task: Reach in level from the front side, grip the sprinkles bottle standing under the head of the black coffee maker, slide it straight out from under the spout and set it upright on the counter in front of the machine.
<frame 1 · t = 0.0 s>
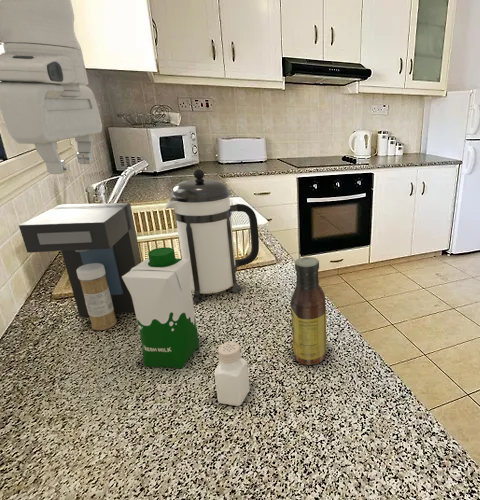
hand: (73, 168, 58), 34 cm above the countertop, tool pointing down, fingers open, 8 cm apart
salt shaker: (234, 398, 60), on the countertop
sauce bottle: (309, 357, 70), on the countertop
coffee press: (217, 288, 95), on the countertop
sprinkles bottle: (105, 326, 78), on the countertop
milk carton: (172, 356, 69), on the countertop
coffee maker: (104, 325, 78), on the countertop
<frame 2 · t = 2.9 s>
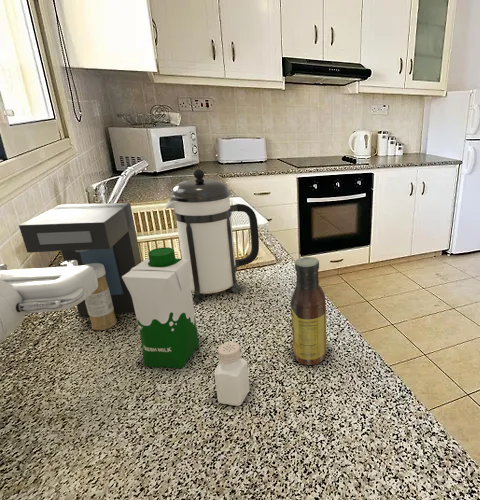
hand: (38, 266, 57), 20 cm above the countertop, tool horizontal, fingers open, 8 cm apart
nothing on the countertop moved.
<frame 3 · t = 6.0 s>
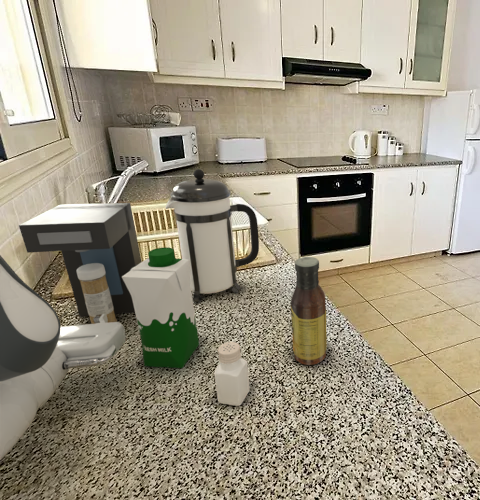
hand: (73, 319, 66), 7 cm above the countertop, tool horizontal, fingers open, 8 cm apart
nothing on the countertop moved.
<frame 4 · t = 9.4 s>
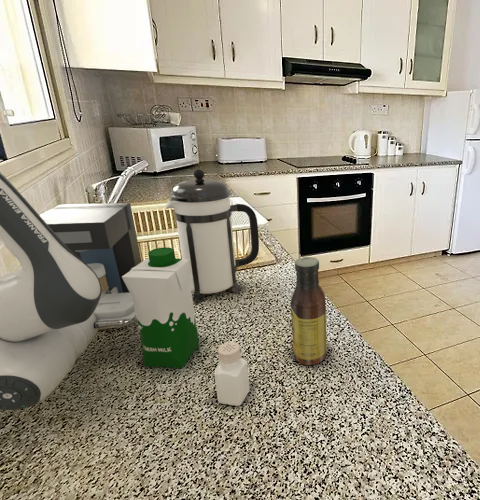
hand: (98, 291, 76), 8 cm above the countertop, tool horizontal, fingers closed on sprinkles bottle, 4 cm apart
sprinkles bottle: (105, 326, 78), on the countertop, touching gripper
everything else where it was.
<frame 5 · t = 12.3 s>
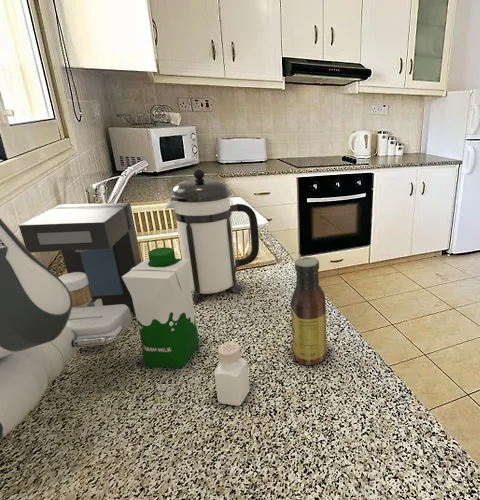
hand: (80, 303, 69), 9 cm above the countertop, tool horizontal, fingers closed on sprinkles bottle, 4 cm apart
sprinkles bottle: (88, 341, 71), point 1 cm above the countertop, touching gripper
everything else where it was.
when the fingers open (8 cm above the countertop, at t = 15.1 s): sprinkles bottle stays where it is, on the countertop.
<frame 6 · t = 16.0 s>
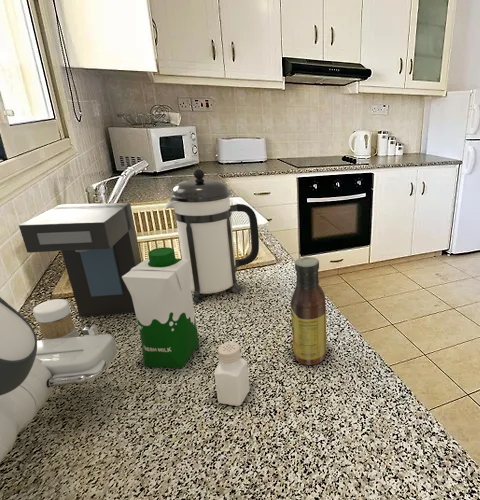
hand: (61, 331, 62), 8 cm above the countertop, tool horizontal, fingers open, 8 cm apart
sprinkles bottle: (71, 373, 64), on the countertop
everything else where it was.
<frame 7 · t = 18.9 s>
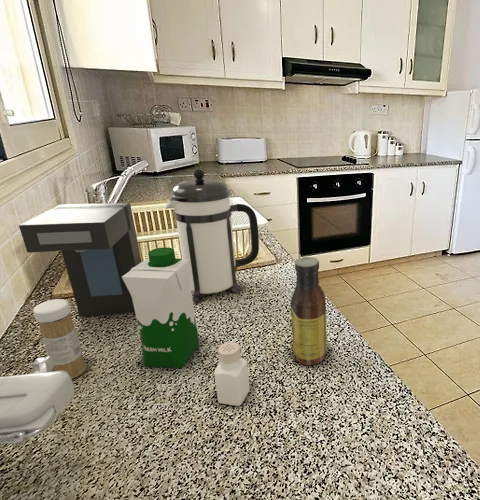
hand: (6, 364, 49), 11 cm above the countertop, tool horizontal, fingers open, 8 cm apart
nothing on the countertop moved.
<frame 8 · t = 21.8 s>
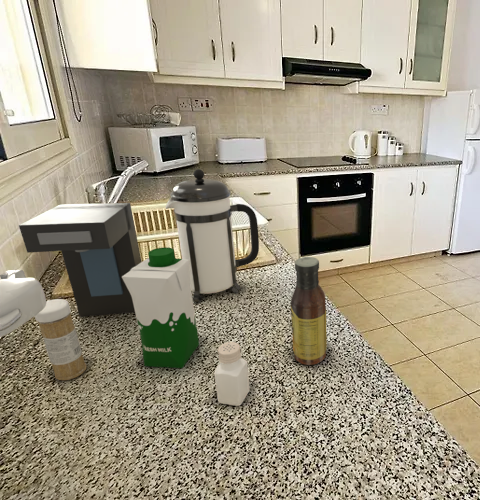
nothing on the countertop moved.
at the end: sprinkles bottle inside the target area (0.5 cm from its centre), on the countertop; sprinkles bottle tilted 0°; sprinkles bottle touching countertop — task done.
